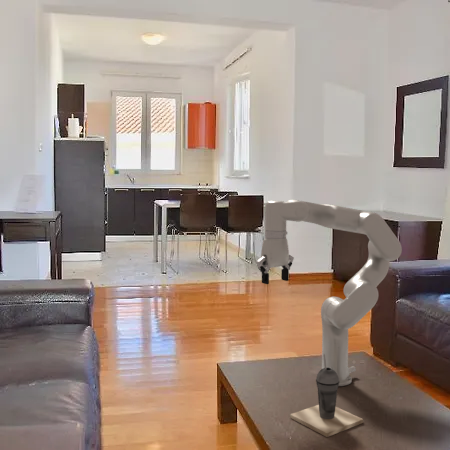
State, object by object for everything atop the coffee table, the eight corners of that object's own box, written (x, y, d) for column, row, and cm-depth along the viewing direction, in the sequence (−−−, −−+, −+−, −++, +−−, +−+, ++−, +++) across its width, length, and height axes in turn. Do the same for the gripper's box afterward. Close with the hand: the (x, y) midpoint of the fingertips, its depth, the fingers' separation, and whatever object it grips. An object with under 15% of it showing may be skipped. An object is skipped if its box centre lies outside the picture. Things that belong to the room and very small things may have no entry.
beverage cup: (338, 422, 173) (339, 359, 171) (314, 420, 175) (315, 357, 173) (338, 412, 181) (339, 351, 179) (315, 410, 182) (316, 350, 180)
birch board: (325, 405, 189) (325, 402, 188) (363, 422, 176) (363, 419, 176) (290, 417, 179) (290, 414, 179) (326, 437, 166) (326, 433, 166)
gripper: (285, 232, 210) (285, 277, 212) (250, 235, 200) (250, 283, 202) (300, 234, 205) (299, 280, 206) (264, 238, 194) (264, 286, 196)
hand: (275, 281), depth 204 cm, fingers open, 9 cm apart
